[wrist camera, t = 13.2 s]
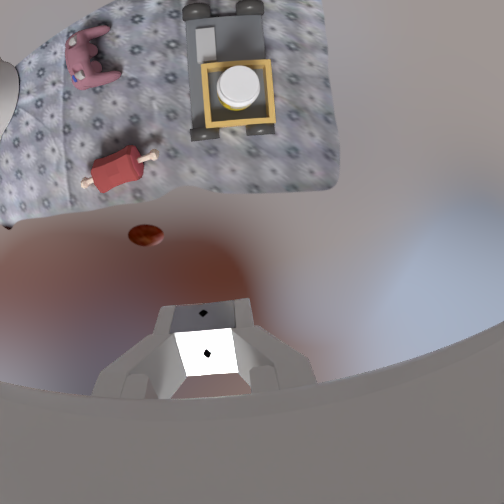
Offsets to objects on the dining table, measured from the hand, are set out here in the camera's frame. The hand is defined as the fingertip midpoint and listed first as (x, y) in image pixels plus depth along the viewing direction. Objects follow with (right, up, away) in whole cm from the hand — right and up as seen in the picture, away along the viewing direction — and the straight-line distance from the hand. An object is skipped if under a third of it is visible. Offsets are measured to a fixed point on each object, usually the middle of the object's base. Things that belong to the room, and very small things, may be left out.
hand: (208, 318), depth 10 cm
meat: (-16, +14, +26) cm, 34 cm away
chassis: (-2, +26, +23) cm, 35 cm away
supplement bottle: (-1, +22, +23) cm, 32 cm away
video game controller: (-20, +29, +20) cm, 41 cm away
